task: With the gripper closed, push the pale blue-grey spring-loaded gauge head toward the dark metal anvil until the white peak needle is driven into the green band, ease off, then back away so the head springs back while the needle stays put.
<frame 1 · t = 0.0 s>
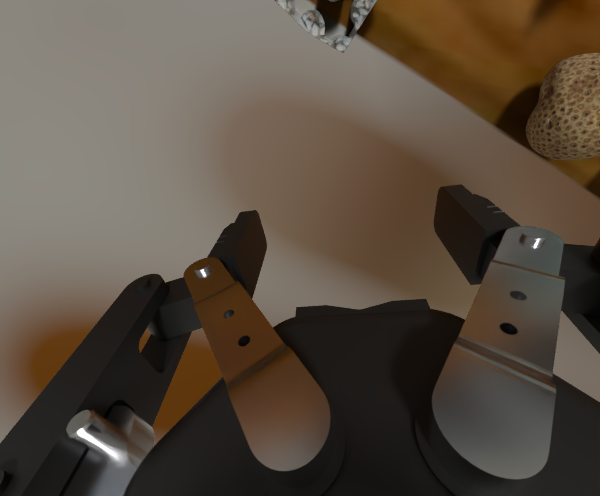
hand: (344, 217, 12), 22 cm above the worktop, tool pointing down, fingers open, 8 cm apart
natural sponge: (551, 95, 27), on the worktop
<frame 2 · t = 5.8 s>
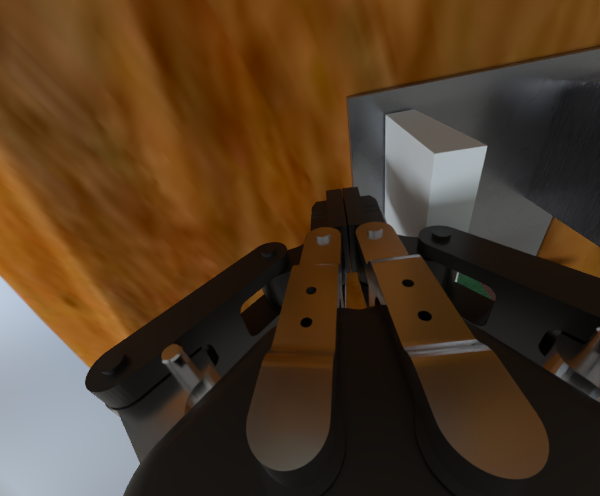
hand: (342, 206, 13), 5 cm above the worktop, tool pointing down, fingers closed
gauge head: (412, 235, 13), point 5 cm above the worktop, slide at 0.5 cm, touching gripper, peak needle
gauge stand: (446, 199, 17), on the worktop
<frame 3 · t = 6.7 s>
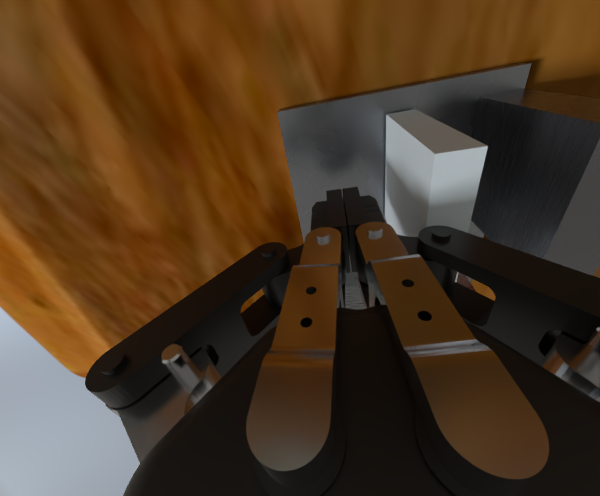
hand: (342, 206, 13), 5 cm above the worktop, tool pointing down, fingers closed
gauge head: (412, 236, 13), point 5 cm above the worktop, slide at 4.2 cm, touching gripper, peak needle
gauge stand: (388, 207, 17), on the worktop
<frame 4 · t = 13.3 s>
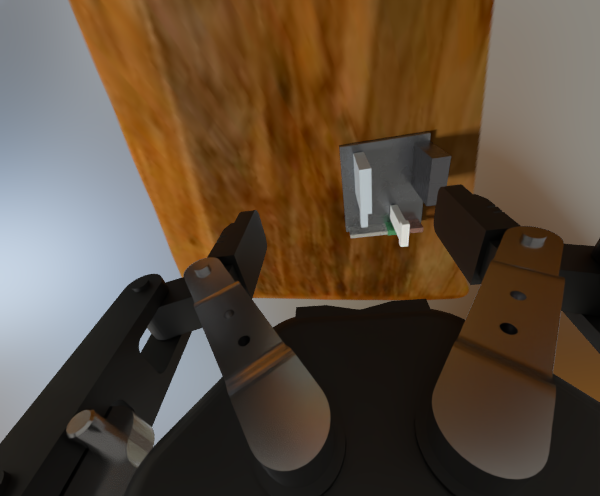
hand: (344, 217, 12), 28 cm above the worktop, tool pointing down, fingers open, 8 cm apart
gauge head: (362, 197, 36), point 5 cm above the worktop, slide at 0.5 cm
peak needle: (398, 222, 38), point 5 cm above the worktop, slide at 4.1 cm
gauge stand: (382, 186, 40), on the worktop
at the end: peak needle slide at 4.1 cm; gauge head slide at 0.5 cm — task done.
